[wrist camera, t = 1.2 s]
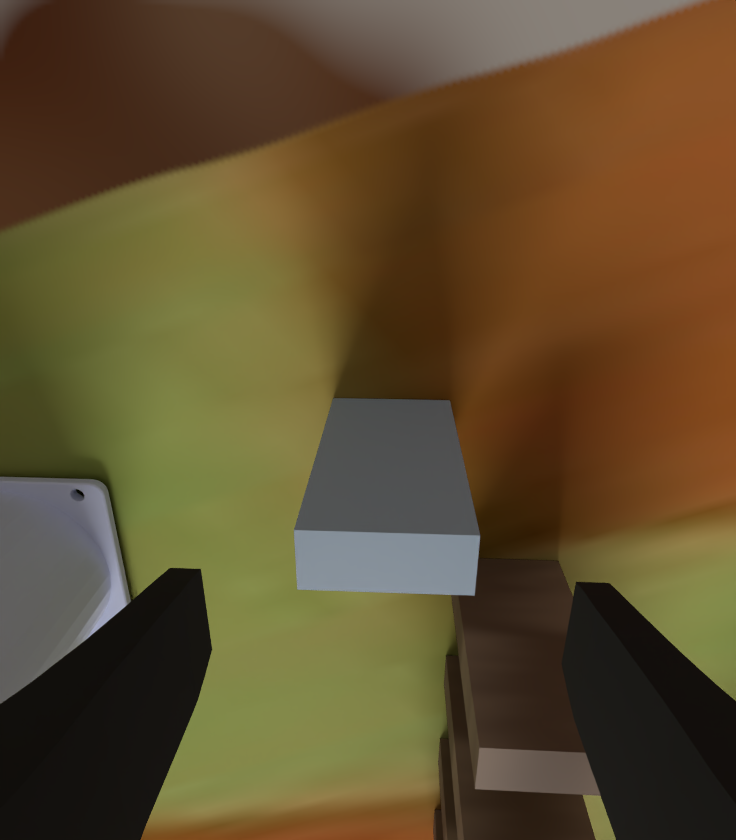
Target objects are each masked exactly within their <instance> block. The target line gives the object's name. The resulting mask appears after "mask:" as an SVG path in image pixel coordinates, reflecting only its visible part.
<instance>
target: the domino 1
mask: <svg viewBox="0 0 736 840" xmlns="http://www.w3.org/2000/svg"><path fill="white" fill-rule="evenodd" d="M294 539H295V556H296V573H297V589H300V590H329V591H358V592H386V593H415V594H444V595H473V596H475V586H476V576H477V565H478V554H479V543H480V532H479V528H478V523H477V519H476V515H475V510H474V506H473V501H472V497H471V492H470V488H469V483H468V479H467V475H466V470H465V466H464V461H463V457H462V452H461V448H460V443H459V439H458V434H457V430H456V426H455V421H454V417H453V412H452V408H451V403H450V400H411V399H358V398H333V401H332V404H331V407H330V411H329V414H328V417H327V421H326V424H325V428H324V431H323V434H322V438H321V441H320V444H319V448H318V451H317V454H316V458H315V461H314V464H313V468H312V471H311V475H310V478H309V481H308V485H307V488H306V491H305V495H304V498H303V501H302V505H301V508H300V512H299V515H298V518H297V522H296V525H295V528H294Z"/></svg>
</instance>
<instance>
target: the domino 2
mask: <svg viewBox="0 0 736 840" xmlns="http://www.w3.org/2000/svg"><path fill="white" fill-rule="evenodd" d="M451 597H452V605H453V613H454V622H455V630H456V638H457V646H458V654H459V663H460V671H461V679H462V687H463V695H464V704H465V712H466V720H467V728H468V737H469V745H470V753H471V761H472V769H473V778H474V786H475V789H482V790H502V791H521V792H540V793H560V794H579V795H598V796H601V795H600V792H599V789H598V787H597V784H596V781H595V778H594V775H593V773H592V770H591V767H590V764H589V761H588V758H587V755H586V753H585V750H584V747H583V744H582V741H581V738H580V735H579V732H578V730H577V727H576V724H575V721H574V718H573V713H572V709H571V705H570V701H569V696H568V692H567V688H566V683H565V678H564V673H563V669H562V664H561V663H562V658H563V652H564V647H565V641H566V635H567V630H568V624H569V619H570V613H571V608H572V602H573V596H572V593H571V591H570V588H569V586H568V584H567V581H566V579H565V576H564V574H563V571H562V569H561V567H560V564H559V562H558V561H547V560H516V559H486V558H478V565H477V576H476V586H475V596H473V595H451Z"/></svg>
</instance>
